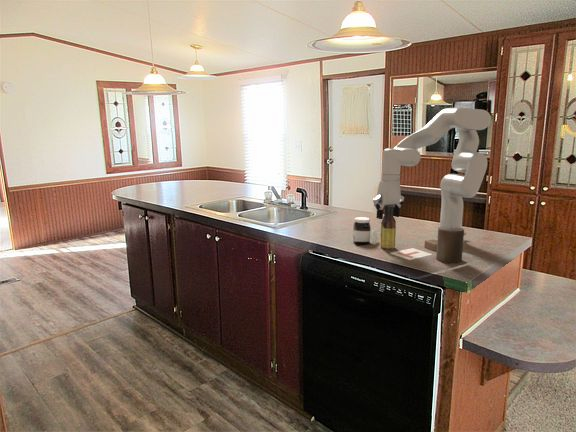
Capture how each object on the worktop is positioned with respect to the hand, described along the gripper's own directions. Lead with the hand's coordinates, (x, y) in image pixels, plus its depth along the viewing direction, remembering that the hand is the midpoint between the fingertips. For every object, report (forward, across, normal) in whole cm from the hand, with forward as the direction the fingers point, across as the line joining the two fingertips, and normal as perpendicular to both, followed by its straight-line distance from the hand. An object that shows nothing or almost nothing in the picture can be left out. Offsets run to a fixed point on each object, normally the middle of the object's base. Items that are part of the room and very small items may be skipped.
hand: (387, 217), depth 180 cm
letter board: (+14, -3, +12) cm, 19 cm away
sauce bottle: (+15, -1, 0) cm, 15 cm away
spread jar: (+15, 0, -13) cm, 20 cm away
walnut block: (+14, -18, +12) cm, 26 cm away
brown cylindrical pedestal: (+14, -10, +25) cm, 31 cm away
